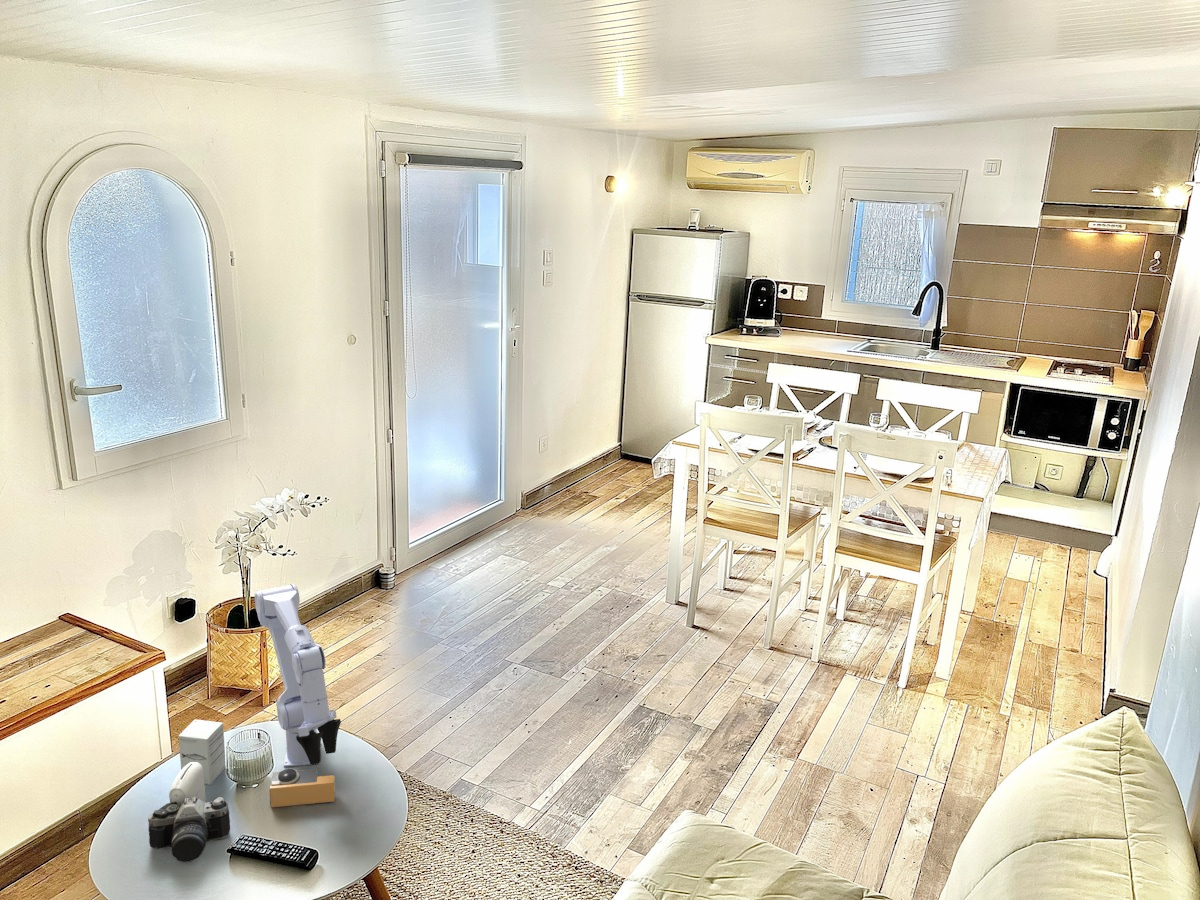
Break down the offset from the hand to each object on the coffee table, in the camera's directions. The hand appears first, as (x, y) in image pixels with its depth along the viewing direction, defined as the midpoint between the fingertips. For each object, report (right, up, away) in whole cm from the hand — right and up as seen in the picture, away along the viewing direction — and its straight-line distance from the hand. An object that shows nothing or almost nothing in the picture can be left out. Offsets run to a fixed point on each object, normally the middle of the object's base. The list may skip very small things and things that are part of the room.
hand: (323, 758), depth 203 cm
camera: (-23, -14, -17) cm, 32 cm away
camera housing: (-7, -9, +2) cm, 12 cm away
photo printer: (-27, -11, -8) cm, 30 cm away
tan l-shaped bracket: (-4, -9, -1) cm, 10 cm away
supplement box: (-31, -7, +7) cm, 32 cm away
